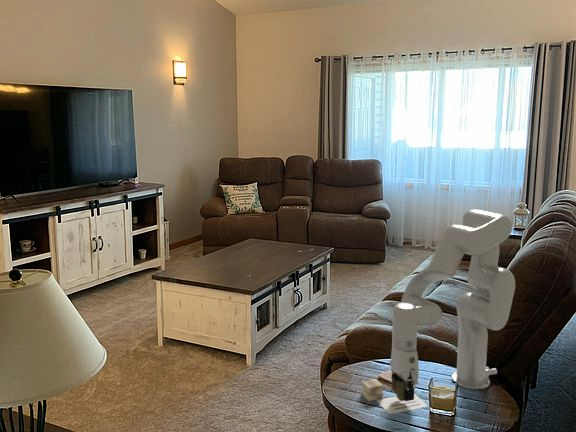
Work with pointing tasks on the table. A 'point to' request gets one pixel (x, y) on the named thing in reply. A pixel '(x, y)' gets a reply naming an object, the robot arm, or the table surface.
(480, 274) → the robot arm
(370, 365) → the table surface
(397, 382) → the dark olive tapered piece
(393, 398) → the letter
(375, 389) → the beech block
